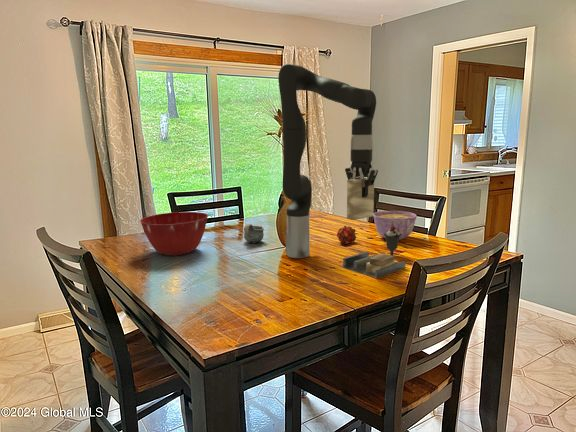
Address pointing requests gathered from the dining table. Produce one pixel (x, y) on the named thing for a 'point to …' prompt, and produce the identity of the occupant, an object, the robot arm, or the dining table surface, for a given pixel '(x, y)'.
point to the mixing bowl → (175, 231)
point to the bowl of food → (394, 222)
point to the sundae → (392, 239)
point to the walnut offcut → (381, 259)
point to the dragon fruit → (346, 235)
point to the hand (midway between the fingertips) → (360, 196)
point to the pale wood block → (359, 200)
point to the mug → (253, 233)
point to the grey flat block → (373, 268)
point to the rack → (360, 260)
